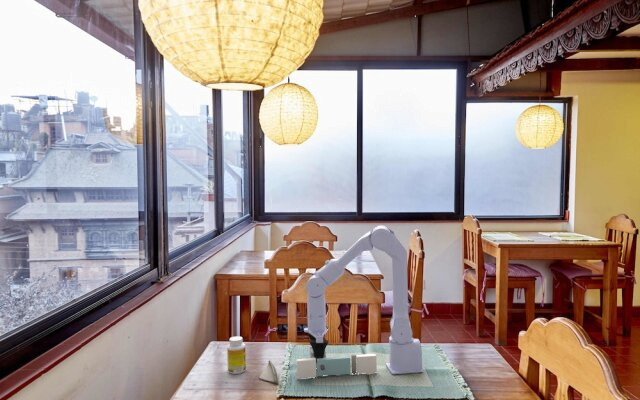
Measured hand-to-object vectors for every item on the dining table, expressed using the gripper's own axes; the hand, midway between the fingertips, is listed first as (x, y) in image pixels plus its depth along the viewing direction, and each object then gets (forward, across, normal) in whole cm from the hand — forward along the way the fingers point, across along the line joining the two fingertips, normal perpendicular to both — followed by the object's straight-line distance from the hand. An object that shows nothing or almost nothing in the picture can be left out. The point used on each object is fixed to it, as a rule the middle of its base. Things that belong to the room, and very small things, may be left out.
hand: (317, 357), depth 146 cm
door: (+3, +8, +4) cm, 9 cm away
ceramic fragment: (+4, +4, -14) cm, 15 cm away
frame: (+3, +8, +5) cm, 9 cm away
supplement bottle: (+3, -1, -25) cm, 25 cm away
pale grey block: (+3, 0, 0) cm, 3 cm away
